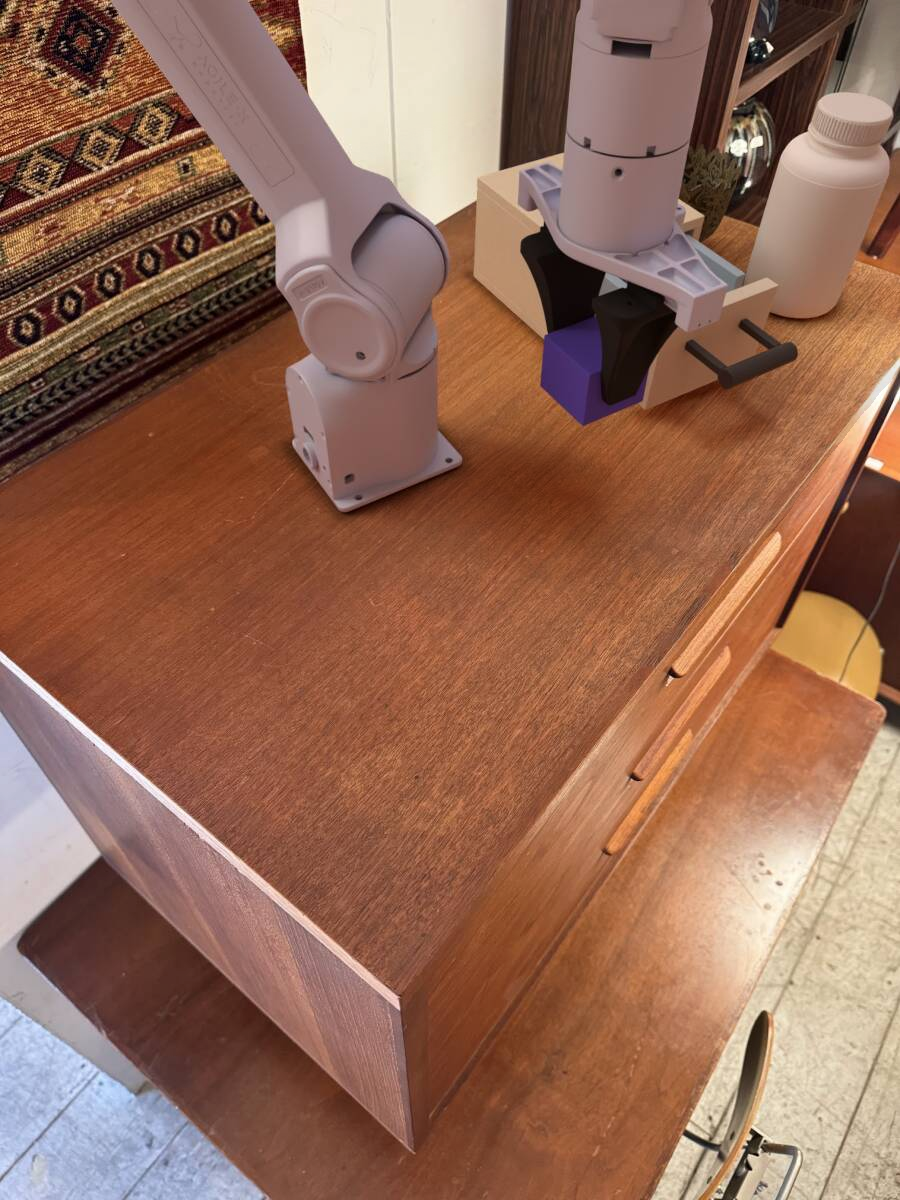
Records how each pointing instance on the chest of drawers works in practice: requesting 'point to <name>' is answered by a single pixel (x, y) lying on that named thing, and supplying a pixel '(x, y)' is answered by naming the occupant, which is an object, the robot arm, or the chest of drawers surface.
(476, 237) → the drawer cabinet
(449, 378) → the chest of drawers surface
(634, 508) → the chest of drawers surface
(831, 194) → the pill bottle
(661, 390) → the drawer
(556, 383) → the violet cube
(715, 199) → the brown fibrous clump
